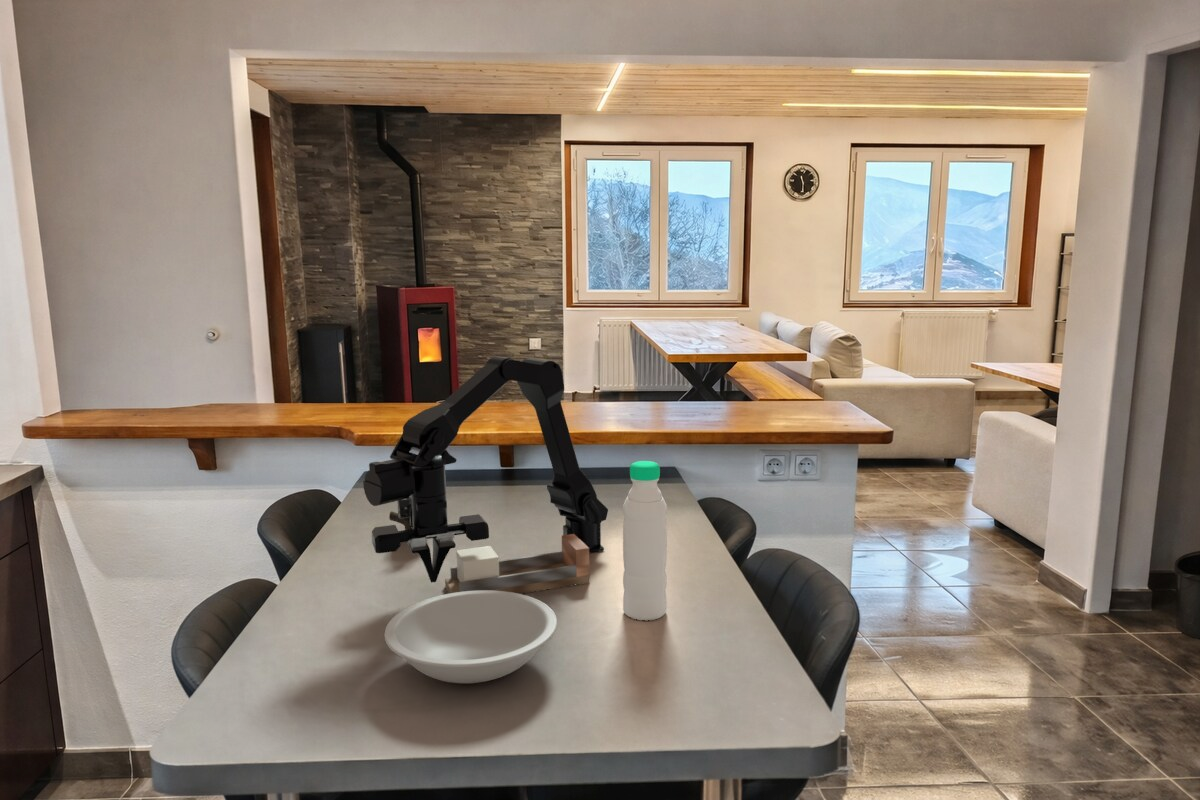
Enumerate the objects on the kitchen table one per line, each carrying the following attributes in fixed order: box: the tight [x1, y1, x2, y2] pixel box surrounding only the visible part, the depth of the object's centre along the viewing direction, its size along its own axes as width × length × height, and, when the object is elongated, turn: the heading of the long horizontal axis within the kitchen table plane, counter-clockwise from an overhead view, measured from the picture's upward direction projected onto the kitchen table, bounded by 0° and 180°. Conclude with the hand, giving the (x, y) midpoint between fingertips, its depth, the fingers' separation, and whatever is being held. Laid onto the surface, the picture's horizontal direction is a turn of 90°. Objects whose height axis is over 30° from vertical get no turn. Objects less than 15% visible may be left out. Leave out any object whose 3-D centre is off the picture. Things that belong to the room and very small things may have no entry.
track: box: [444, 534, 591, 595], centre depth 150 cm, size 24×8×6 cm, turn 111°
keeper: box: [456, 545, 500, 582], centre depth 147 cm, size 6×6×5 cm
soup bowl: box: [384, 590, 558, 684], centre depth 121 cm, size 24×24×7 cm
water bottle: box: [622, 460, 668, 622], centre depth 136 cm, size 7×7×25 cm
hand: (433, 581), depth 145 cm, fingers closed
